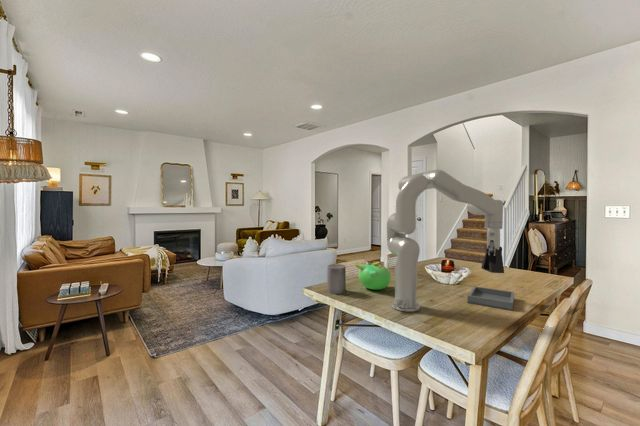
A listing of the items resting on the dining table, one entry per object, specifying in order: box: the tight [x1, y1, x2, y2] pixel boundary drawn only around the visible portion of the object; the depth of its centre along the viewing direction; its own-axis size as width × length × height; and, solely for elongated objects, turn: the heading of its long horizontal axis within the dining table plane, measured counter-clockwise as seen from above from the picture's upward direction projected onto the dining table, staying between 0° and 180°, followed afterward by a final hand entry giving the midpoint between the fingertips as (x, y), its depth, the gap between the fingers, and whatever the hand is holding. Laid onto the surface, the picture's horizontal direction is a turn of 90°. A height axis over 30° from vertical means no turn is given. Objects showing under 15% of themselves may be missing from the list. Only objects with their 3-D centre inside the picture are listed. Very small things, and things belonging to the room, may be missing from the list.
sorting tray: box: [467, 286, 515, 312], centre depth 147 cm, size 20×18×4 cm
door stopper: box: [480, 246, 505, 274], centre depth 146 cm, size 9×6×12 cm, turn 0°
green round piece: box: [353, 261, 392, 291], centre depth 165 cm, size 18×17×15 cm
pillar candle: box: [326, 263, 347, 295], centre depth 160 cm, size 10×10×15 cm
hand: (492, 262), depth 146 cm, fingers closed on door stopper, 5 cm apart
